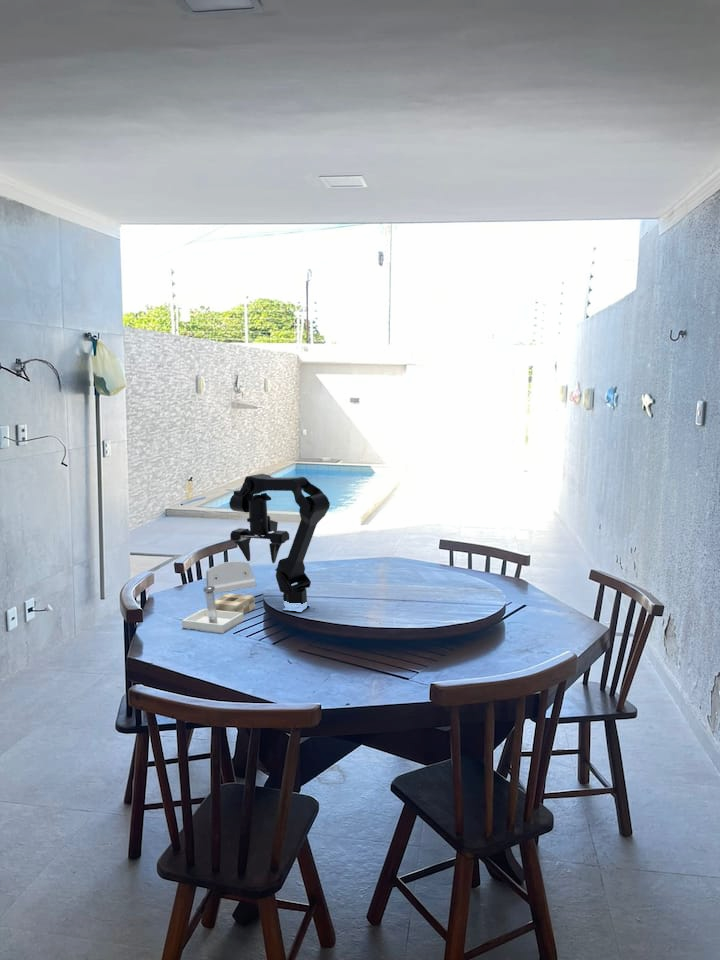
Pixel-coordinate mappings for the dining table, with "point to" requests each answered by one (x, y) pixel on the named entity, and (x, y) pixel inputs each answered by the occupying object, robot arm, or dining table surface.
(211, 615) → the pin
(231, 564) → the hinge
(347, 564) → the dining table surface
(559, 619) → the dining table surface
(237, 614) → the tray
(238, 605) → the block
